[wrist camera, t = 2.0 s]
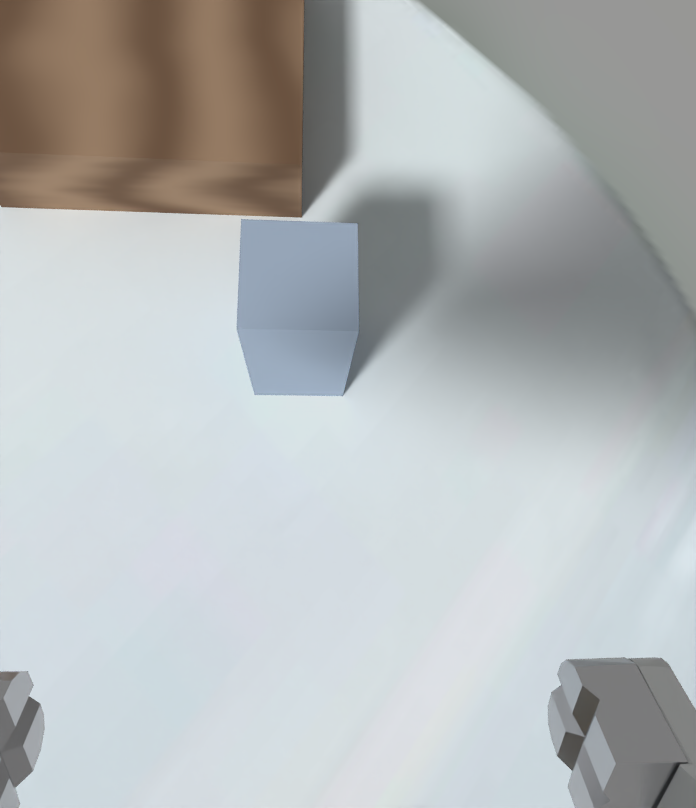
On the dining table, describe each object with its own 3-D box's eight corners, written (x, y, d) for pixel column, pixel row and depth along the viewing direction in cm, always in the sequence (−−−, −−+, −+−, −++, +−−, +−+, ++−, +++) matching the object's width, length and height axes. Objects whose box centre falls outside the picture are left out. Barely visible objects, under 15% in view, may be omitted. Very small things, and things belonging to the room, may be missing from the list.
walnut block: (5, 211, 33) (-46, 150, 28) (41, -22, 37) (2, -110, 32) (301, 221, 34) (301, 164, 29) (304, -5, 38) (305, -88, 33)
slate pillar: (254, 394, 31) (236, 328, 22) (257, 312, 32) (241, 219, 23) (342, 396, 31) (359, 331, 22) (342, 314, 32) (357, 223, 24)
